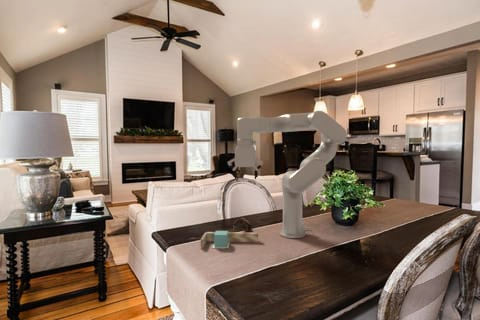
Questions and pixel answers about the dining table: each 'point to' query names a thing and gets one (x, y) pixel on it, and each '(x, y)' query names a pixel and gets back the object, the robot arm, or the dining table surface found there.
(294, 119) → the robot arm
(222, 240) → the cube
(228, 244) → the pad
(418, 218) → the dining table surface
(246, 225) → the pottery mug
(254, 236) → the wooden l-shaped bar
